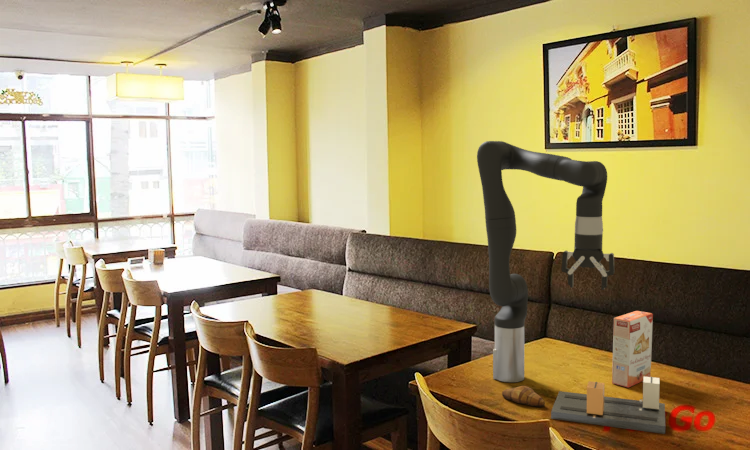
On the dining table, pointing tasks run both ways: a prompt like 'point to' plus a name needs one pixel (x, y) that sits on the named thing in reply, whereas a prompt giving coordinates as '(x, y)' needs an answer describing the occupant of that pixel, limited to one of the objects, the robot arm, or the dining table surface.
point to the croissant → (523, 396)
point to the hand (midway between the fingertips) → (587, 288)
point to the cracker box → (632, 348)
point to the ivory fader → (651, 392)
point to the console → (610, 413)
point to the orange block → (595, 398)
